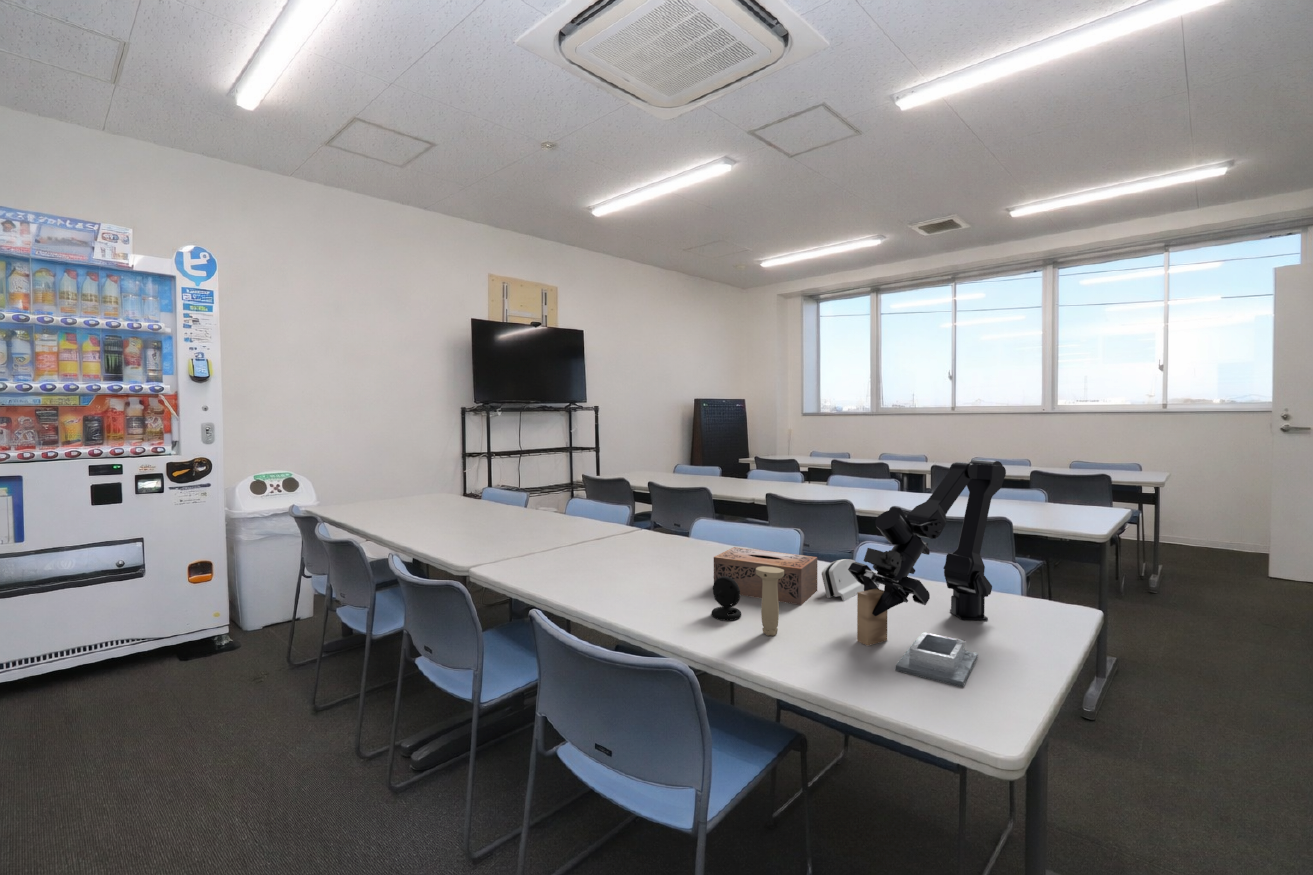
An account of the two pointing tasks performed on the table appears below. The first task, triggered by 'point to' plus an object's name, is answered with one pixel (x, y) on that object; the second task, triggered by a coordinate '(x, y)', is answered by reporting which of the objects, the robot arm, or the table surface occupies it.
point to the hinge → (840, 580)
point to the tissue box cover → (744, 562)
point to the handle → (770, 598)
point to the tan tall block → (870, 618)
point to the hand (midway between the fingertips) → (867, 612)
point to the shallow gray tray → (938, 659)
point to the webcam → (726, 599)
